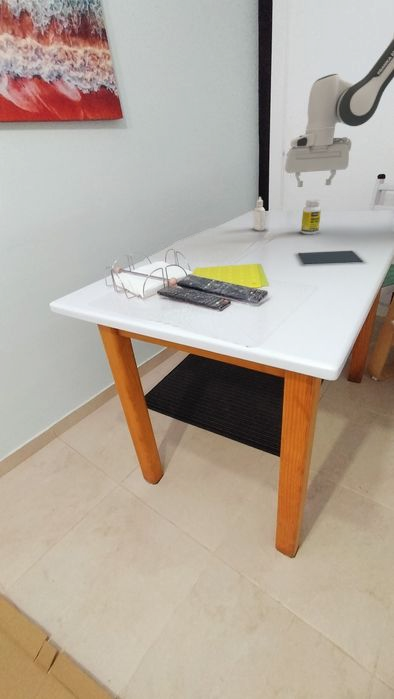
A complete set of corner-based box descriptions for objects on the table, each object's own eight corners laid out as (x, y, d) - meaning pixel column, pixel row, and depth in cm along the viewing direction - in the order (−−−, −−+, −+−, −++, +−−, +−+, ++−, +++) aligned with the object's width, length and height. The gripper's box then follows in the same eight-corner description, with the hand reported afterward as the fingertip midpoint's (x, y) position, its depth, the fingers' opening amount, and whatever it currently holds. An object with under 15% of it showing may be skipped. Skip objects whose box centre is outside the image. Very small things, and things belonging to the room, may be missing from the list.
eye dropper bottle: (253, 231, 133) (253, 198, 126) (253, 227, 137) (254, 196, 131) (264, 230, 132) (265, 197, 126) (264, 227, 137) (265, 195, 130)
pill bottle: (310, 235, 121) (313, 202, 116) (297, 232, 126) (300, 201, 120) (322, 232, 124) (326, 200, 118) (309, 229, 129) (312, 198, 123)
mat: (351, 251, 103) (352, 250, 103) (362, 261, 95) (362, 261, 95) (298, 253, 105) (298, 253, 105) (304, 264, 97) (304, 263, 97)
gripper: (349, 136, 111) (342, 183, 118) (286, 141, 113) (283, 186, 120) (355, 136, 105) (347, 185, 113) (288, 141, 108) (285, 188, 115)
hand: (313, 186), depth 117 cm, fingers open, 8 cm apart
